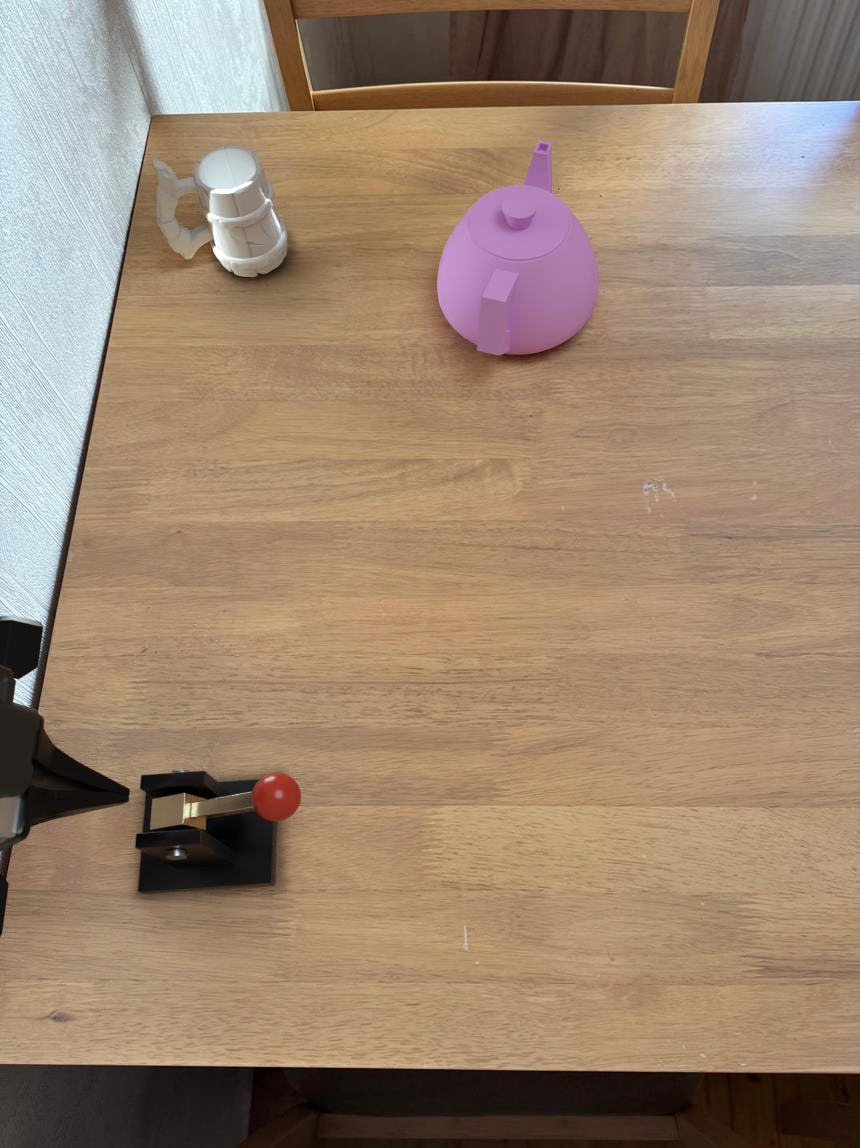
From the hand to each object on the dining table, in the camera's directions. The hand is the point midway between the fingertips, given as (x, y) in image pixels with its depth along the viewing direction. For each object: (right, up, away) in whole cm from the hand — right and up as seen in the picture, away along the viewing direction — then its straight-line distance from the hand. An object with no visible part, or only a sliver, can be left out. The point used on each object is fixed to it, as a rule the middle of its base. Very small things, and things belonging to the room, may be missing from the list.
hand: (127, 796), depth 58 cm
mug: (-3, +49, +36) cm, 61 cm away
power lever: (+6, -2, +5) cm, 8 cm away
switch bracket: (+2, -5, +12) cm, 14 cm away
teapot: (+26, +43, +33) cm, 60 cm away
